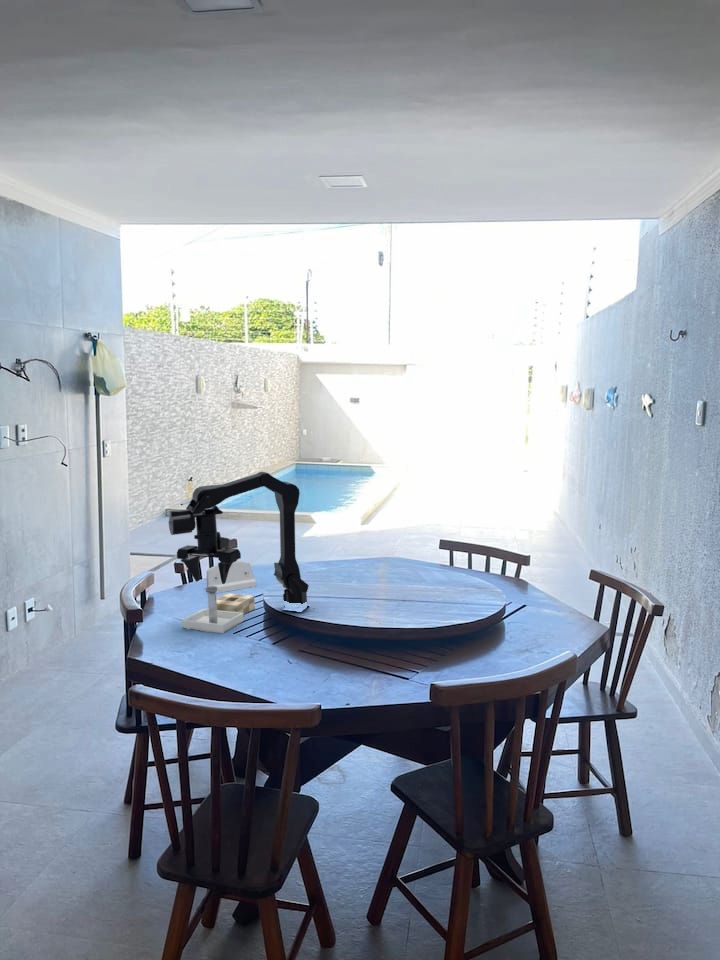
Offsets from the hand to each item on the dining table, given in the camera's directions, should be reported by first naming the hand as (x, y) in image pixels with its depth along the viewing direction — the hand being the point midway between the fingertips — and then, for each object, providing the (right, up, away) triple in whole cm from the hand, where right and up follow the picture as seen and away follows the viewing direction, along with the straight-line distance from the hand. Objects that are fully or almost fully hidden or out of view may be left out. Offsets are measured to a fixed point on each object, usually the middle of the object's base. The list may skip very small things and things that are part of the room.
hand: (210, 582), depth 224 cm
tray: (+1, -13, +2) cm, 13 cm away
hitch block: (+4, -11, +13) cm, 18 cm away
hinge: (-1, -7, +39) cm, 40 cm away
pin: (+1, -12, +2) cm, 12 cm away
